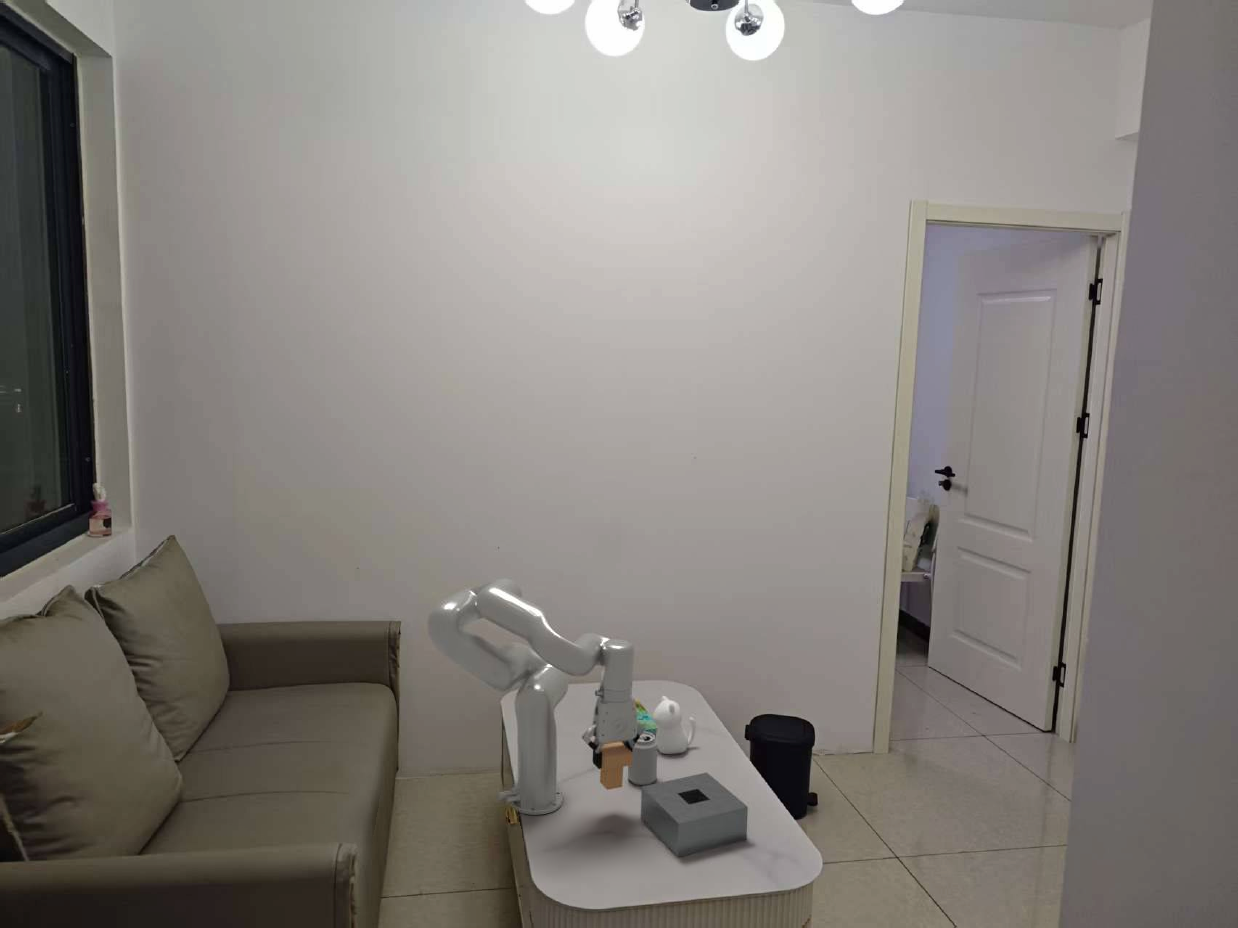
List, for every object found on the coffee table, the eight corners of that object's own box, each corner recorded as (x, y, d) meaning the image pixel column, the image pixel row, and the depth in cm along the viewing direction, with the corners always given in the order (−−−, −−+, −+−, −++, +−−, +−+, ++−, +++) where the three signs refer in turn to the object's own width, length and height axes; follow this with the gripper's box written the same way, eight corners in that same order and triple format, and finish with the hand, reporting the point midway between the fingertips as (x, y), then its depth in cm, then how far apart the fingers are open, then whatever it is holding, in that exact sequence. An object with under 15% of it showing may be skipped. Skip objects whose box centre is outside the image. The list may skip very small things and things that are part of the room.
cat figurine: (647, 746, 251) (647, 695, 249) (688, 739, 255) (688, 689, 253) (659, 760, 242) (659, 707, 240) (701, 753, 247) (701, 701, 244)
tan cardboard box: (603, 793, 208) (605, 757, 207) (591, 779, 214) (593, 744, 213) (630, 788, 211) (632, 753, 210) (617, 775, 217) (619, 740, 216)
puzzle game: (621, 729, 251) (602, 702, 270) (621, 745, 252) (602, 717, 271) (660, 724, 254) (639, 698, 273) (660, 740, 255) (638, 713, 274)
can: (654, 788, 227) (655, 743, 225) (625, 784, 228) (626, 740, 227) (658, 774, 234) (659, 731, 232) (630, 771, 235) (631, 728, 234)
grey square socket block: (677, 857, 196) (678, 823, 195) (640, 818, 212) (641, 786, 211) (746, 839, 204) (747, 806, 203) (705, 802, 220) (706, 772, 219)
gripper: (588, 703, 202) (584, 777, 205) (656, 693, 210) (651, 764, 212) (575, 691, 209) (572, 762, 212) (641, 682, 217) (637, 751, 219)
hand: (612, 763), depth 212 cm, fingers closed on tan cardboard box, 7 cm apart
